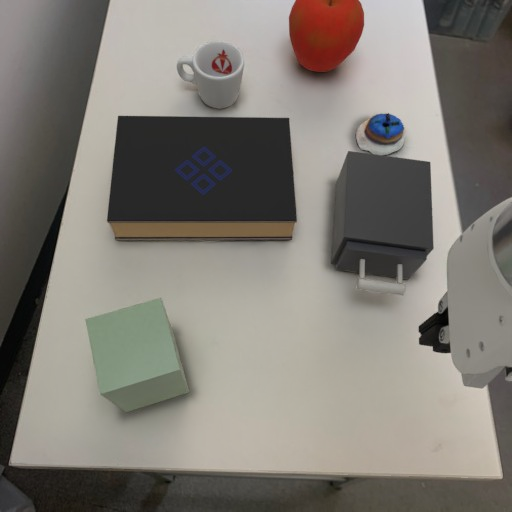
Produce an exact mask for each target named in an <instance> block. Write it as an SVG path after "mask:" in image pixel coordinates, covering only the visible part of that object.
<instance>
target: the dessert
mask: <svg viewBox="0 0 512 512" xmlns="http://www.w3.org/2000/svg"><path fill="white" fill-rule="evenodd" d="M404 131H405V126H404V123H403V122H402V120H401V119H400V118H399V117H397V116H396V115H394V114H392V113H389V112H388V113H378V114H375V115H373V116H372V117H370V118H367V119H366V120H364V121H363V122H362V123H360V124H359V126H358V127H357V129H356V132H355V140H356V142H357V145H358V147H359V149H360V150H362V151H366V152H369V153H370V154H375V155H383V156H389V155H391V154H392V153H395V152H397V151H399V150H400V149H401V148H403V146H404V144H405V142H406V136H405V134H404Z"/></svg>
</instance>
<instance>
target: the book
mask: <svg viewBox="0 0 512 512" xmlns="http://www.w3.org/2000/svg"><path fill="white" fill-rule="evenodd" d="M293 163H294V162H293V151H292V137H291V125H290V117H254V116H253V117H252V116H251V117H249V116H248V117H247V116H245V117H243V116H239V117H238V116H182V115H181V116H178V115H177V116H174V115H173V116H170V115H162V116H161V115H117V121H116V132H115V141H114V152H113V159H112V167H111V168H112V170H111V179H110V188H109V198H108V206H107V215H106V216H107V217H106V222H107V223H108V224H109V225H110V227H111V230H112V232H113V235H114V239H115V241H287V240H288V241H291V240H293V232H294V229H295V225H296V224H297V222H298V217H297V216H298V215H297V206H296V205H297V204H296V202H297V201H296V192H295V191H296V189H295V177H294V164H293Z"/></svg>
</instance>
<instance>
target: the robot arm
mask: <svg viewBox="0 0 512 512" xmlns="http://www.w3.org/2000/svg"><path fill="white" fill-rule="evenodd" d="M418 334H419V335H420V336H419V337H418V345H419V346H424V347H425V346H426V347H432V352H433V353H439V354H450V356H451V361H452V364H453V366H454V368H455V369H456V370H457V371H458V373H460V374H461V380H462V385H463V386H464V387H467V388H475V389H484V388H485V387H486V386H488V385H489V384H490V383H491V382H492V381H493V380H494V379H495V378H496V377H497V376H498V375H499V374H500V373H501V372H503V370H504V379H505V381H506V382H512V196H511V197H509V198H507V199H504V200H503V201H501V202H500V203H498V204H496V205H495V206H493V207H492V208H490V209H489V210H487V211H486V212H485V213H483V215H481V216H480V217H479V218H477V219H476V220H474V222H472V223H471V224H470V225H469V226H468V227H467V228H466V229H465V230H464V231H463V232H462V233H461V234H460V235H459V236H458V237H457V238H456V239H455V241H454V242H453V243H452V245H451V247H450V248H449V250H448V251H447V257H446V291H445V293H444V294H443V296H442V297H441V298H440V299H439V301H438V303H437V311H436V312H435V313H433V314H432V315H430V316H429V317H428V318H427V319H426V320H425V321H423V322H422V323H420V324H419V325H418Z"/></svg>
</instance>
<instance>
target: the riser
mask: <svg viewBox="0 0 512 512" xmlns="http://www.w3.org/2000/svg"><path fill="white" fill-rule="evenodd" d="M85 324H86V330H87V335H88V339H89V345H90V350H91V355H92V360H93V365H94V370H95V376H96V380H97V385H98V390H99V395H100V396H102V397H103V398H105V399H106V400H108V401H109V402H111V404H113V405H115V406H117V407H118V408H119V409H121V410H122V411H123V412H125V413H129V412H133V411H135V410H138V409H141V408H144V407H148V406H152V405H154V404H157V403H160V402H163V401H166V400H170V399H173V398H176V397H179V396H182V395H185V394H188V393H190V390H189V385H188V382H187V377H186V375H185V371H184V367H183V364H182V363H183V362H182V359H181V356H180V351H179V347H178V344H177V341H176V340H177V339H176V337H175V334H174V329H173V327H172V325H171V322H170V319H169V316H168V313H167V311H166V308H165V305H164V302H163V299H162V297H159V298H156V299H152V300H148V301H145V302H141V303H138V304H134V305H130V306H127V307H123V308H119V309H117V310H112V311H109V312H106V313H102V314H99V315H95V316H91V317H88V318H85Z"/></svg>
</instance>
